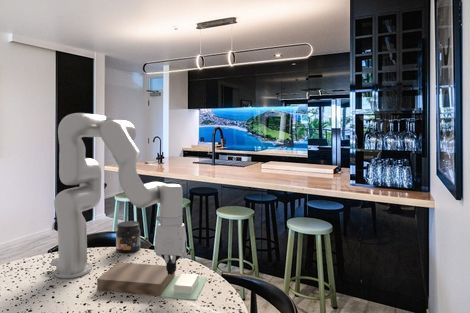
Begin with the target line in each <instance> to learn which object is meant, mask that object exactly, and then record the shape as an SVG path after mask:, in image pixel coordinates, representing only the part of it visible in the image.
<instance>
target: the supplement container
mask: <svg viewBox="0 0 470 313" xmlns="http://www.w3.org/2000/svg"><path fill="white" fill-rule="evenodd" d="M115 238H116V239H115V240H116V241H115V244H116V245H115V249H116V252H118V253H121V254H132V253H136V252H137V251H139V250H140V249H141V246H142V245H141V228H140V222H139V221H136V220H128V221H127V220H126V221H120V222H119V223H117V224H116V231H115Z"/></svg>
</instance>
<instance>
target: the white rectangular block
mask: <svg viewBox="0 0 470 313" xmlns="http://www.w3.org/2000/svg"><path fill="white" fill-rule="evenodd" d="M179 276H180V277H179V279H178V280H177V281H176V283H175V284H174V292H176V293H187V294H192V292H193V290H194V289H195V287H196V285H197V283H198V281H199V278H200V277H199V274H198V273H186V272H185V273H184V272H183V273H181V274H180V275H179Z"/></svg>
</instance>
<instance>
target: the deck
mask: <svg viewBox="0 0 470 313" xmlns="http://www.w3.org/2000/svg"><path fill="white" fill-rule="evenodd" d="M175 274H176V271H175V272H174V273H173V274H172V275H171V274H168V271H167V270H166V265H162V264H161V265H159V264H147V263H146V264H145V263H133V262H120V261H118V262H117V263H115V264H114V265H113V266H112V267H111V268H109V269H108V270H106V272H103V274H102V275H101V276H98V277H97V279H96V288H97V289H96V290H97V291H99V292H108V293H120V294H133V295H142V296H155V297H160V295H161V294H162V293H163V291H164V290H165V289H166V287H167V286H168V285H169V283H170V282H171V281H172V279H173V278H174V276H176V275H175Z"/></svg>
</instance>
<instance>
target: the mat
mask: <svg viewBox="0 0 470 313" xmlns="http://www.w3.org/2000/svg"><path fill="white" fill-rule="evenodd" d="M180 276H181V275H175V276H174V278H173V279H172V281H171V282H170V283H169V285H168V286H167V287H166V289H165V290H164V291H163V293H162V294H161V295H160V296H159V297H160V298H168V299H178V300H179V299H180V300H191V301H197V299H198V298H199V295H200V294H201V291H202V289H203V288H204V285H205V284H206V282H207V280H208V278H207V277H199V281H198V283H197V285H196V287H195V289H194V290H193V292H192V294H187V293H176V292H174V284H175V283H176V281H177V280H178V279H179V277H180Z"/></svg>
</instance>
